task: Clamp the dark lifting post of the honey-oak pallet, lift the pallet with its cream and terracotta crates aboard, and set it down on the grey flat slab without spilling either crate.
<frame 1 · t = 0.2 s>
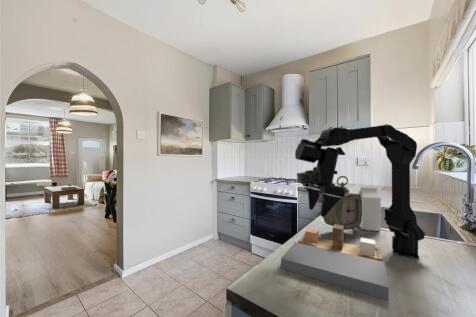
hand: (316, 212, 69), 15 cm above the counter, tool pointing down, fingers open, 9 cm apart
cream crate: (367, 253, 69), point 2 cm above the counter, touching oak pallet
milk carton: (368, 228, 99), on the counter
grey flat slab: (331, 270, 62), on the counter
tabletop clock: (341, 234, 91), on the counter
oak pallet: (337, 253, 74), on the counter, touching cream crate, terracotta crate
terracotta crate: (311, 241, 78), point 2 cm above the counter, touching oak pallet
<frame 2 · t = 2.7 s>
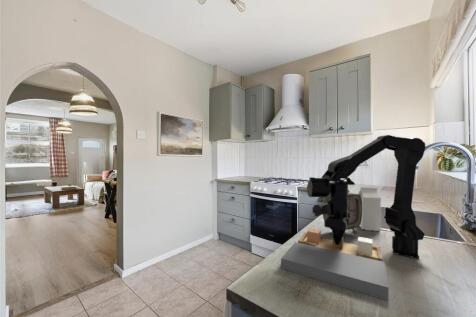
hand: (338, 242, 74), 4 cm above the counter, tool pointing down, fingers closed on oak pallet, 4 cm apart
oak pallet: (337, 252, 74), on the counter, touching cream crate, gripper, terracotta crate
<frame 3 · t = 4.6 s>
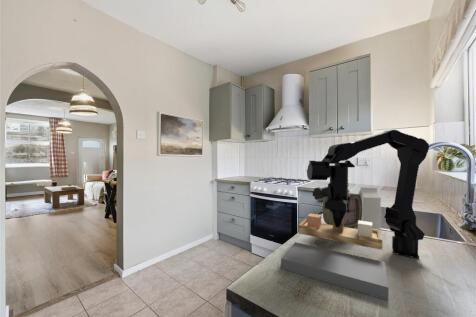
hand: (338, 225, 74), 9 cm above the counter, tool pointing down, fingers closed on oak pallet, 4 cm apart
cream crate: (364, 235, 70), point 8 cm above the counter, touching oak pallet
oak pallet: (338, 236, 74), point 5 cm above the counter, touching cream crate, gripper, terracotta crate
terracotta crate: (314, 226, 78), point 8 cm above the counter, touching oak pallet
everything else where it was.
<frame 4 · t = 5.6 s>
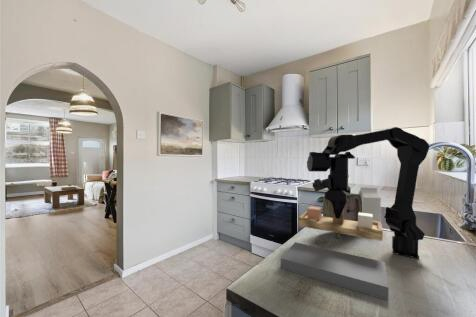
hand: (338, 216, 74), 12 cm above the counter, tool pointing down, fingers closed on oak pallet, 4 cm apart
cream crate: (365, 226, 69), point 10 cm above the counter, touching oak pallet
oak pallet: (338, 228, 74), point 8 cm above the counter, touching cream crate, gripper, terracotta crate
terracotta crate: (314, 218, 78), point 10 cm above the counter, touching oak pallet
everything else where it was.
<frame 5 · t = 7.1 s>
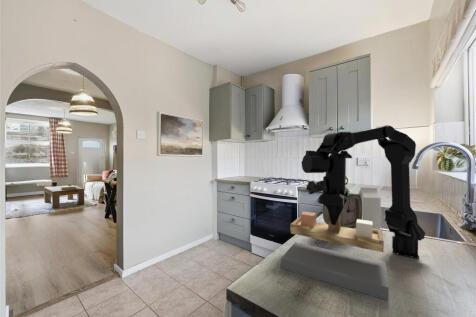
hand: (334, 222, 66), 13 cm above the counter, tool pointing down, fingers closed on oak pallet, 4 cm apart
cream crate: (364, 235, 62), point 10 cm above the counter, touching oak pallet
oak pallet: (334, 237, 66), point 8 cm above the counter, touching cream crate, gripper, terracotta crate
terracotta crate: (308, 225, 71), point 10 cm above the counter, touching oak pallet
everything else where it was.
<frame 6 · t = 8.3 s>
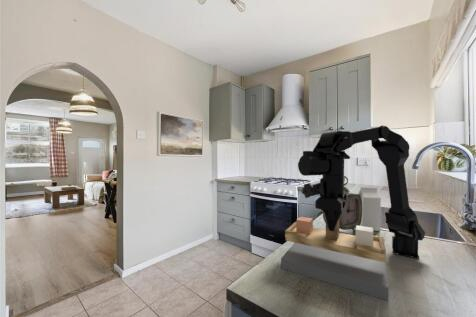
hand: (332, 228, 62), 12 cm above the counter, tool pointing down, fingers closed on oak pallet, 4 cm apart
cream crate: (364, 243, 58), point 10 cm above the counter, touching oak pallet
oak pallet: (332, 244, 62), point 8 cm above the counter, touching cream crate, gripper, terracotta crate
terracotta crate: (304, 231, 66), point 10 cm above the counter, touching oak pallet
everything else where it was.
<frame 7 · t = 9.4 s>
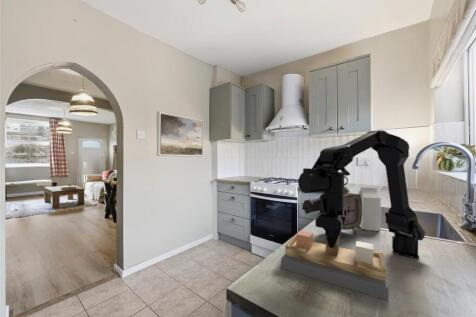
hand: (332, 244, 62), 8 cm above the counter, tool pointing down, fingers closed on oak pallet, 4 cm apart
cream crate: (364, 259, 58), point 5 cm above the counter, touching oak pallet
oak pallet: (332, 260, 62), point 3 cm above the counter, touching grey flat slab, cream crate, gripper, terracotta crate
terracotta crate: (304, 246, 66), point 5 cm above the counter, touching oak pallet
everything else where it was.
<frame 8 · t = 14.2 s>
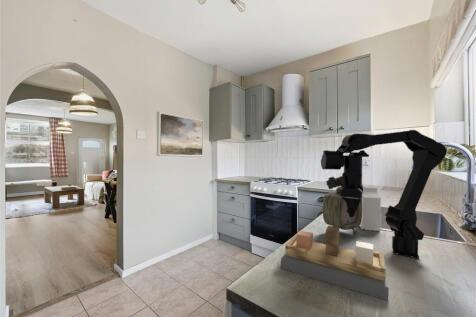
hand: (352, 213, 75), 13 cm above the counter, tool pointing down, fingers open, 9 cm apart
oak pallet: (332, 260, 62), point 3 cm above the counter, touching grey flat slab, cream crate, terracotta crate
everything else where it was.
at the end: oak pallet inside the target area (0.1 cm from its centre), point 3.0 cm above the counter; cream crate inside the target area on the oak pallet (8.0 cm from its centre), point 2.2 cm above the oak pallet's base; terracotta crate inside the target area on the oak pallet (8.0 cm from its centre), point 2.2 cm above the oak pallet's base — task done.
